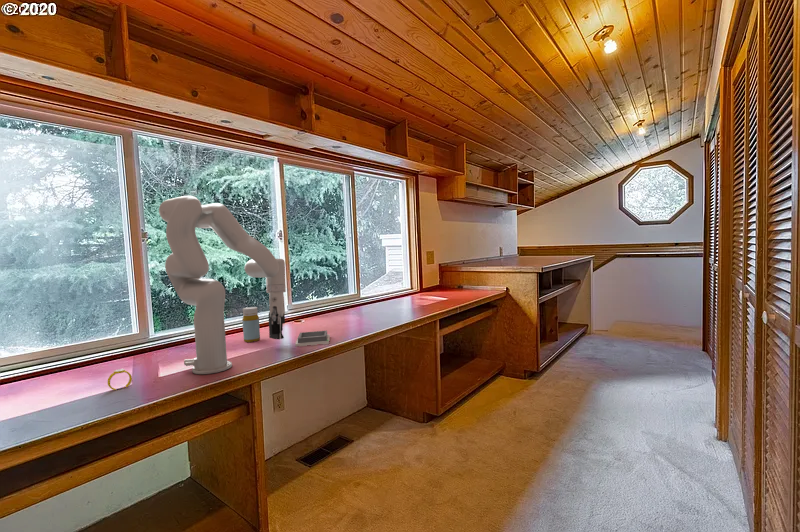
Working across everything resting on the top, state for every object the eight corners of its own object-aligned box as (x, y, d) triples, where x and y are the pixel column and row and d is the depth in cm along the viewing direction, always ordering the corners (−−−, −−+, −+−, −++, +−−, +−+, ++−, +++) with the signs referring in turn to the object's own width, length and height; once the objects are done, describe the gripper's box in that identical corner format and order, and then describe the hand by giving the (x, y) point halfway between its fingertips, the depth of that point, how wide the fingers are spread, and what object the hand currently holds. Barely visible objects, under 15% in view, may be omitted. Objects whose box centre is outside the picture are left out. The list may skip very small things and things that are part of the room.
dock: (295, 346, 165) (294, 339, 165) (298, 339, 179) (297, 332, 179) (329, 344, 168) (328, 336, 167) (329, 336, 181) (329, 329, 181)
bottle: (253, 338, 185) (251, 306, 185) (263, 339, 181) (261, 307, 181) (240, 341, 180) (238, 308, 179) (250, 343, 176) (247, 309, 175)
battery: (286, 338, 162) (286, 310, 162) (278, 340, 159) (278, 311, 159) (276, 336, 166) (275, 309, 166) (268, 338, 163) (267, 310, 163)
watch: (130, 386, 125) (130, 367, 125) (132, 388, 123) (132, 368, 123) (106, 390, 120) (107, 371, 120) (109, 392, 119) (109, 372, 119)
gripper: (282, 290, 154) (284, 336, 154) (287, 287, 171) (289, 328, 171) (262, 290, 153) (264, 337, 153) (269, 287, 170) (271, 329, 170)
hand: (277, 332), depth 162 cm, fingers closed on battery, 6 cm apart
